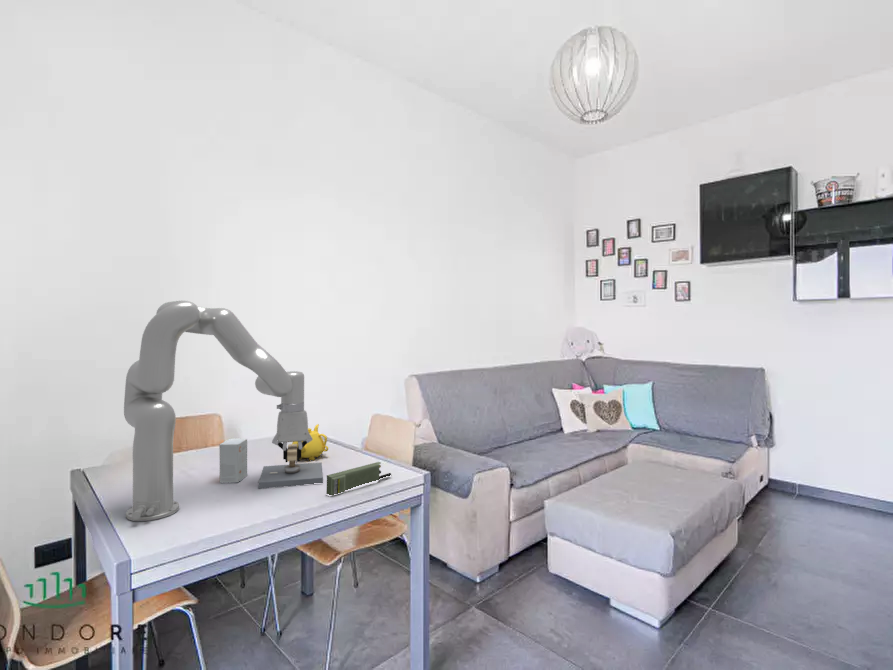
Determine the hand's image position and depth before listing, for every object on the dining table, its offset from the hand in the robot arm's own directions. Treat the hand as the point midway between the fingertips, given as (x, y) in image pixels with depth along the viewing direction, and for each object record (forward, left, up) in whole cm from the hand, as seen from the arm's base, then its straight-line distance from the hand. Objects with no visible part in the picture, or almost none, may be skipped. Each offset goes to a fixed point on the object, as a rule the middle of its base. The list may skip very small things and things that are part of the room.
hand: (292, 460), depth 162 cm
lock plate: (0, 0, -6) cm, 6 cm away
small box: (+3, +19, -6) cm, 20 cm away
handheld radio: (-15, -22, -7) cm, 27 cm away
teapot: (+24, -6, -6) cm, 26 cm away
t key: (0, 0, -4) cm, 4 cm away
